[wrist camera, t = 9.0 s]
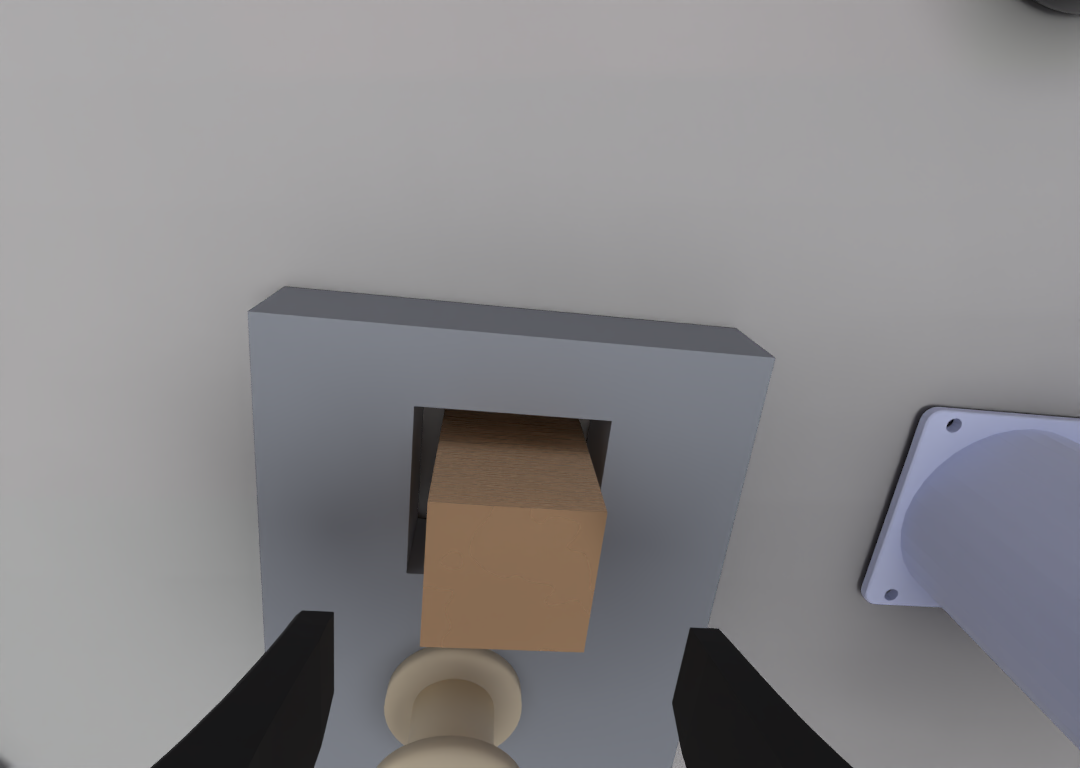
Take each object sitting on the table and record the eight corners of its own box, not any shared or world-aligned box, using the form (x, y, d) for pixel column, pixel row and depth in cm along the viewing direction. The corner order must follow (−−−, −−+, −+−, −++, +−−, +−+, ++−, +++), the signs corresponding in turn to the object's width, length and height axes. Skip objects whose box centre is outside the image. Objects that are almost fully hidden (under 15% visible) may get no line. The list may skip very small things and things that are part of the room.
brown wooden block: (571, 396, 21) (607, 512, 14) (557, 502, 22) (583, 652, 16) (449, 386, 20) (427, 501, 14) (442, 495, 22) (419, 646, 15)
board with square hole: (736, 328, 20) (851, 416, 14) (650, 706, 26) (704, 897, 19) (284, 286, 19) (172, 362, 12) (296, 696, 24) (223, 899, 18)
